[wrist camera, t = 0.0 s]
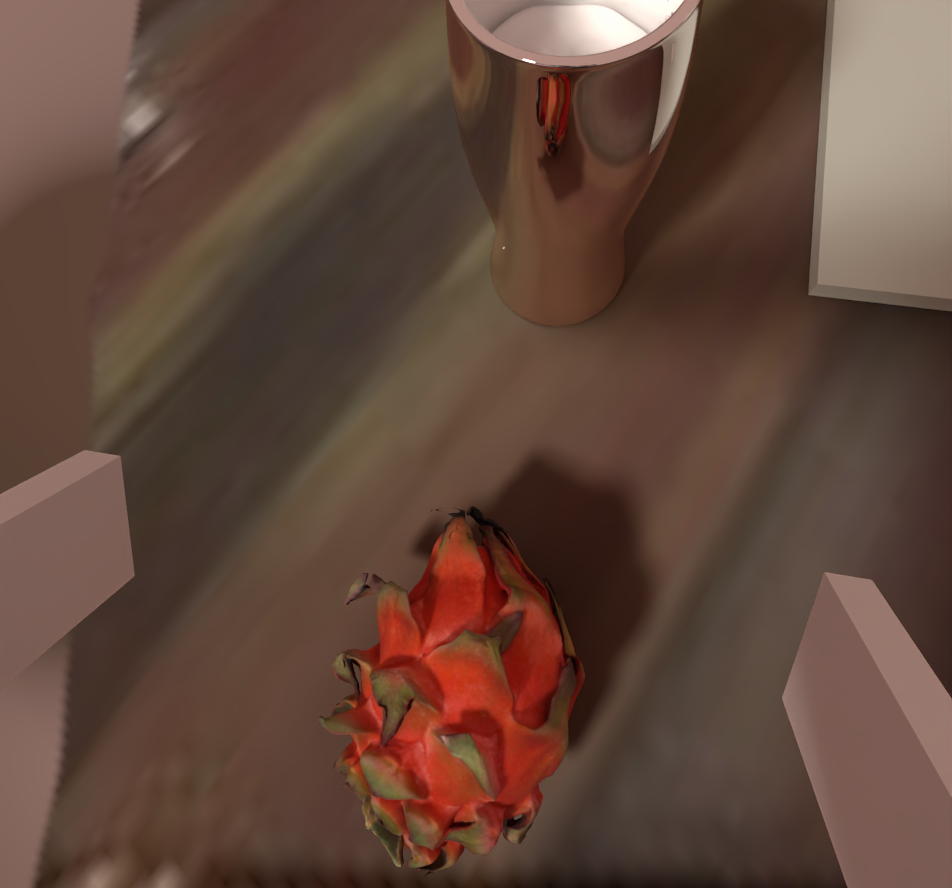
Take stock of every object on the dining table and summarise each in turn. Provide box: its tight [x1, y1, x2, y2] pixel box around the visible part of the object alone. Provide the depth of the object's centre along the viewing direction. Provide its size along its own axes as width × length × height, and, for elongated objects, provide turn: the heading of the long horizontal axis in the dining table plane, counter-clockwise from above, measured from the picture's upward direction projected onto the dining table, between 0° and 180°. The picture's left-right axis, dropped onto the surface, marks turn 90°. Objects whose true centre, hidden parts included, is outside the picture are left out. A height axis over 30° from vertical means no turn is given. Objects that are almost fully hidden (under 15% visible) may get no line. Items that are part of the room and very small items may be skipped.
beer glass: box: [446, 0, 703, 326], centre depth 24 cm, size 7×7×15 cm
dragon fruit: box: [319, 506, 585, 876], centre depth 23 cm, size 8×8×12 cm
